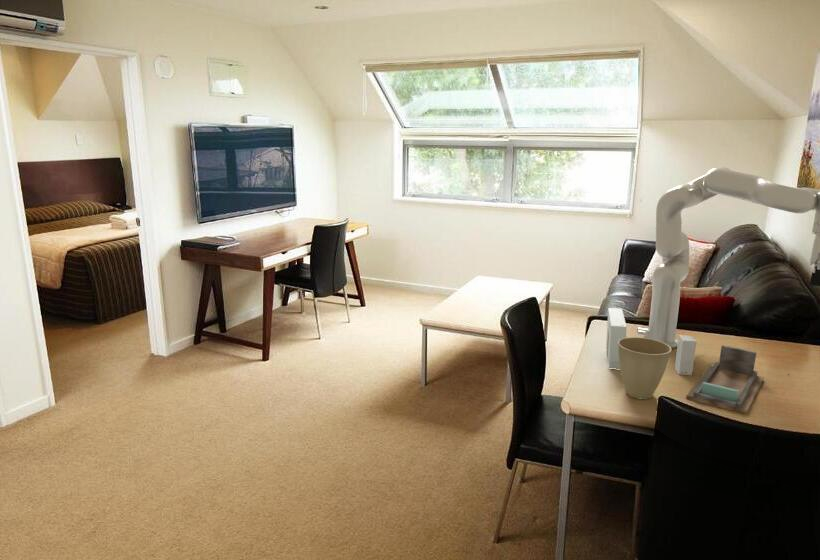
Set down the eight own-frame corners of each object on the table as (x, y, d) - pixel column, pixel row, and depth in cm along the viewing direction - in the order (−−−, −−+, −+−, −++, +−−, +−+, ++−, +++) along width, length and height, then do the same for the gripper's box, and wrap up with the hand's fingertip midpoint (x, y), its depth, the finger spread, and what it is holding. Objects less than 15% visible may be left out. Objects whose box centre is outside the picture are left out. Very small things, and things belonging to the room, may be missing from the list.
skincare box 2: (692, 375, 189) (697, 341, 186) (678, 374, 190) (682, 340, 187) (687, 368, 195) (692, 335, 192) (674, 367, 196) (678, 334, 193)
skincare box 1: (604, 348, 214) (608, 307, 210) (619, 349, 212) (623, 308, 209) (607, 369, 194) (611, 324, 190) (624, 371, 193) (628, 326, 189)
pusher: (701, 393, 173) (702, 383, 172) (701, 392, 174) (703, 381, 173) (736, 402, 167) (737, 391, 166) (736, 401, 168) (738, 390, 167)
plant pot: (671, 407, 167) (677, 356, 163) (617, 403, 170) (622, 352, 166) (658, 385, 181) (664, 338, 178) (609, 382, 184) (614, 335, 180)
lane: (686, 398, 173) (689, 370, 171) (708, 367, 196) (712, 342, 193) (746, 414, 163) (751, 384, 161) (763, 380, 186) (767, 354, 184)
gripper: (815, 225, 189) (806, 275, 193) (810, 231, 176) (800, 285, 180) (843, 227, 184) (833, 279, 189) (840, 234, 171) (829, 289, 175)
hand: (817, 282), depth 184 cm, fingers open, 9 cm apart
